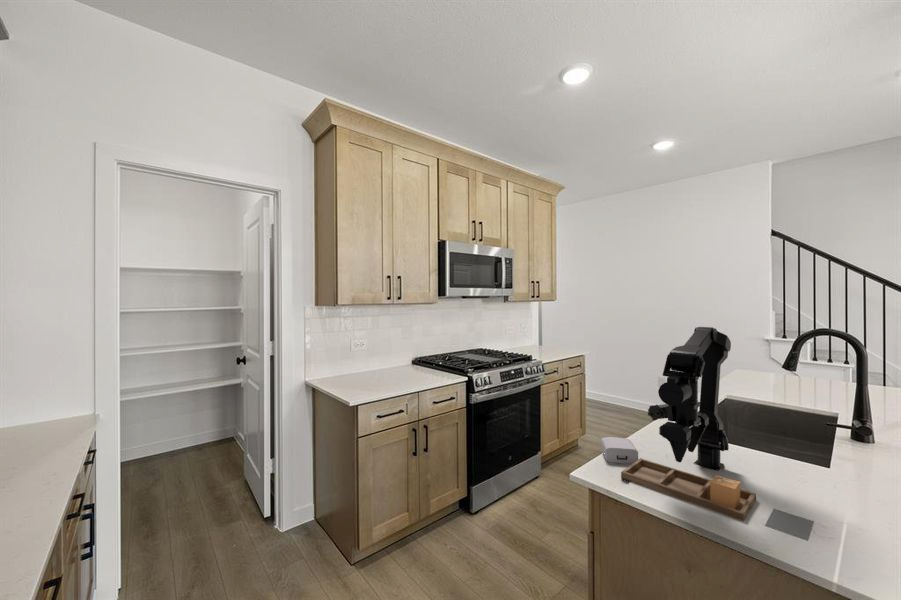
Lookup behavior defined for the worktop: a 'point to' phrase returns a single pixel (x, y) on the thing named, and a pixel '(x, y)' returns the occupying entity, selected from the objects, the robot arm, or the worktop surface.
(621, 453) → the charger
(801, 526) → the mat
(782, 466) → the worktop surface
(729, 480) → the letter cube
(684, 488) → the organiser
